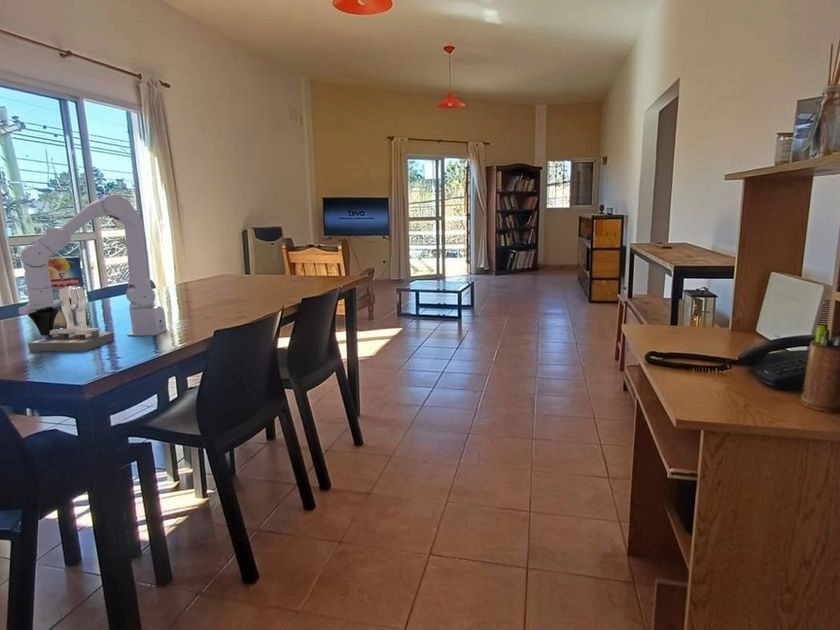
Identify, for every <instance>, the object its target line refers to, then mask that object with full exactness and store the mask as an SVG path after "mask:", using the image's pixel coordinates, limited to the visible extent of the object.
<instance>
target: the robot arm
mask: <svg viewBox="0 0 840 630" xmlns="http://www.w3.org/2000/svg"><path fill="white" fill-rule="evenodd" d="M103 217H109V218H112V219H113V220H116V221H117V222H118V223H120V224H121V225H123V226H124V232H125V233H124V234H125V244H126V254H127V265H128V275H129V276H128V281H127V285H128V286H127V289H126V291H125V297H126V300H128V301H129V302H130V304H129V305H128V309H129V315H130V323H131V330H132V332H128V333H127V334H126V336H128V337H129V336H130V337H131V336H132V337H133V336H134V337H135V336H136V337H137V336H141V337H143V336H146V337H147V336H157V335H159V334H162V333H164V332H166V331H168V328H167V323H166V322H167V321H166V316H165V315H166V313H165V310H164V307H162V306H159V305H158V306H157V305H155V300H156V293H155V291H154V290H153V288H152V283H151V281H150V279H149V277H148V268H147V267H148V265H147V257H146V248H145V235H144V223H143V218H141V216H140V215H139V214H138V212H137V210H136V209H135V208H134V207H133V206H132V203H131V202H130V201H129V200H128V199H127V198H125V197H123V196H122V195H120V194H116V193H112V194H108V195H107V194H105V195H102V196H100V197H99V199H97V200H94V201H92V202H91V203H88V204H87V205H86V206H85V207H83V208H82V209H81V210H80V211H78V213H76V214H75V215H74V216H73V217H71V219H69V220H68V221H66V223H65V224H63V225H62V226H52V227H51V228H50V227H47V228H45V230H44V232H45V233H43V234H42V235H41V236H39V237H38V238H37V239H36V240H35V239H32V240H31V241H30V244H32V245H27V246H25V247H24V248H22V250H21V253H20V256H19V258H20V260H21V262H23V263H24V264H23V270H24V272H23V273H24V279H25V286H26V290H27V297H28V303H26V305H24V306H21V307H18V314H19V316H20V315H21V316H22V315H23V316H24V315H27V316H28V317H29V318H30V319H31V321H32V322H33V323H34V324H35V326H36V328H37V329H38V332H39V333H40V336H45V335H49V334H50V330H53V324H54V320H55V317H56V315H57V313H58V309H53V308H54V307H58V306H64V301H63V299H56V300H53V293H52V286H51V279H50V273H49V271H48V265H47V263H48V261H49V257H55V255H56V254H57V253H59V252H60V251H62V249H64V248H65V247H66V246H67V245H68V244H70V243H72V242H71V241H72V235H73V234H75V233H76V232H78V231H79V230H80V229H81V228H83V227H84V226H85V225H87V224H88V223H89V222H90V221H92V220H94V219H95V218H96V219H97V218H98V219H99V218H103Z"/></svg>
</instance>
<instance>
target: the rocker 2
mask: <svg viewBox="0 0 840 630" xmlns="http://www.w3.org/2000/svg"><path fill="white" fill-rule="evenodd" d="M94 330H98V331H99V332H101V328H100V327H99V328H98V327H97V328H95V327H93V328H88V329H81V330H75V335H81V334H91V331H94Z"/></svg>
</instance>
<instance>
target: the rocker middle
mask: <svg viewBox="0 0 840 630" xmlns="http://www.w3.org/2000/svg"><path fill="white" fill-rule="evenodd" d="M75 330H77V329H67V328H65V329H58V333H63V334H75Z"/></svg>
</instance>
